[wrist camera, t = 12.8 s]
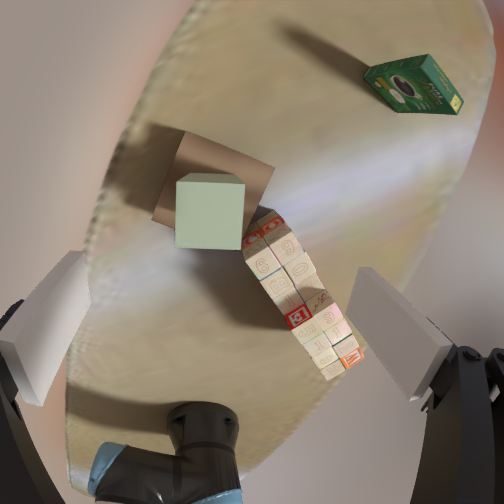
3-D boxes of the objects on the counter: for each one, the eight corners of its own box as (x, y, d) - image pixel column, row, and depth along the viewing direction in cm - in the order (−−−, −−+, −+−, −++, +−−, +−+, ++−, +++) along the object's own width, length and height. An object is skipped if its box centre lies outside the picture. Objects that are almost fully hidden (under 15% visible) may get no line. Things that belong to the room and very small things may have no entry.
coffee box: (406, 102, 36) (466, 101, 24) (397, 115, 37) (458, 117, 25) (370, 65, 34) (428, 50, 22) (361, 78, 34) (419, 64, 22)
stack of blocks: (235, 232, 41) (248, 272, 29) (274, 208, 40) (302, 238, 29) (302, 332, 49) (327, 382, 38) (334, 313, 49) (365, 359, 37)
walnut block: (232, 237, 41) (237, 251, 36) (157, 209, 38) (151, 220, 33) (266, 163, 38) (275, 167, 33) (188, 131, 35) (185, 130, 30)
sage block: (232, 217, 34) (240, 249, 23) (189, 216, 33) (175, 247, 22) (235, 174, 33) (245, 184, 21) (190, 172, 32) (176, 181, 21)
